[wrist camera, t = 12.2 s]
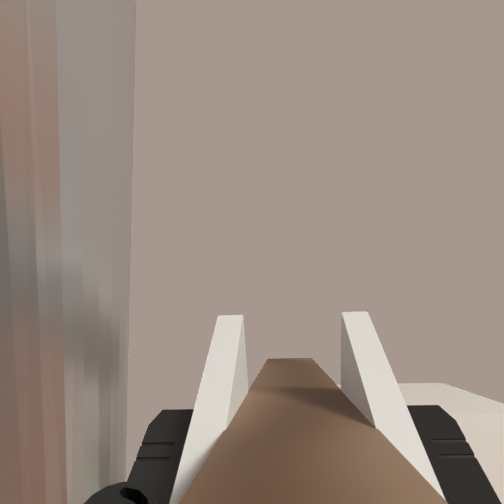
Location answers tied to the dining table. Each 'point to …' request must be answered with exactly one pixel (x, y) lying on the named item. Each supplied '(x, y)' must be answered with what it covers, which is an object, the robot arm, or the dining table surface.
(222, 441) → the walnut bar
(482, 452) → the step stand
